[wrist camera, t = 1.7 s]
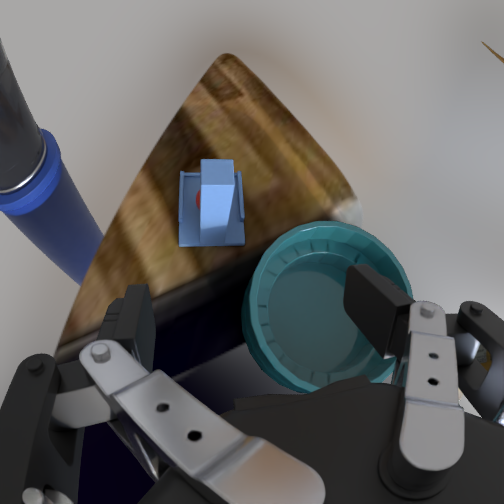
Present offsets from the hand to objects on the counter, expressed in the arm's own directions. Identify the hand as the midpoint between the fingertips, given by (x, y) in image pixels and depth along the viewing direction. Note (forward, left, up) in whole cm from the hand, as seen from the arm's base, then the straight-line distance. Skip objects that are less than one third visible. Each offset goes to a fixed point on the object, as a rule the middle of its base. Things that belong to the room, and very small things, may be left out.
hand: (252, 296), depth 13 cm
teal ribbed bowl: (+9, +2, -18) cm, 20 cm away
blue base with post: (-1, +14, -18) cm, 23 cm away
